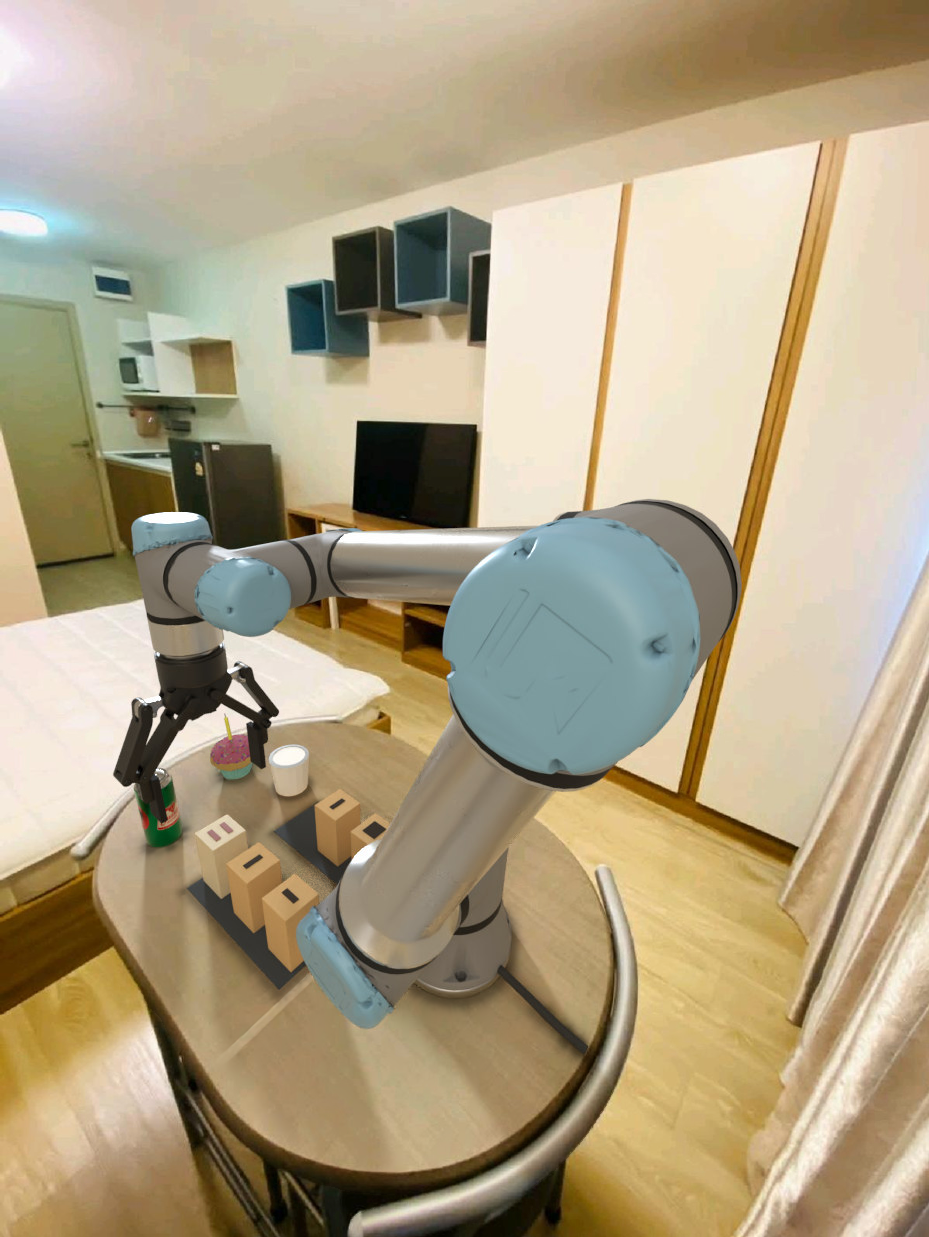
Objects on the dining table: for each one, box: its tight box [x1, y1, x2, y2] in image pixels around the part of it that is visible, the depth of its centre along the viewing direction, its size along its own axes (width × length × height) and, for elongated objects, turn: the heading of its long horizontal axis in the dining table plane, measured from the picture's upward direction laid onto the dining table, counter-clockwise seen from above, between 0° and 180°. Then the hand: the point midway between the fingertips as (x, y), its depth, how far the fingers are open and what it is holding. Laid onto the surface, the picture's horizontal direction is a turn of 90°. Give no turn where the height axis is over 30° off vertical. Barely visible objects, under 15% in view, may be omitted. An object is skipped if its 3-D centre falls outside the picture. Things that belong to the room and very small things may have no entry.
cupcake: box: [209, 712, 253, 780], centre depth 95 cm, size 9×8×12 cm
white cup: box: [268, 744, 310, 797], centre depth 93 cm, size 7×7×7 cm
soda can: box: [133, 767, 183, 849], centre depth 80 cm, size 5×5×12 cm
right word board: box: [273, 788, 391, 886], centre depth 80 cm, size 22×9×10 cm, turn 53°
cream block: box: [194, 813, 249, 899], centre depth 74 cm, size 5×5×9 cm
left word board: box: [186, 841, 320, 991], centre depth 70 cm, size 22×9×10 cm, turn 53°
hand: (212, 788), depth 70 cm, fingers open, 13 cm apart
